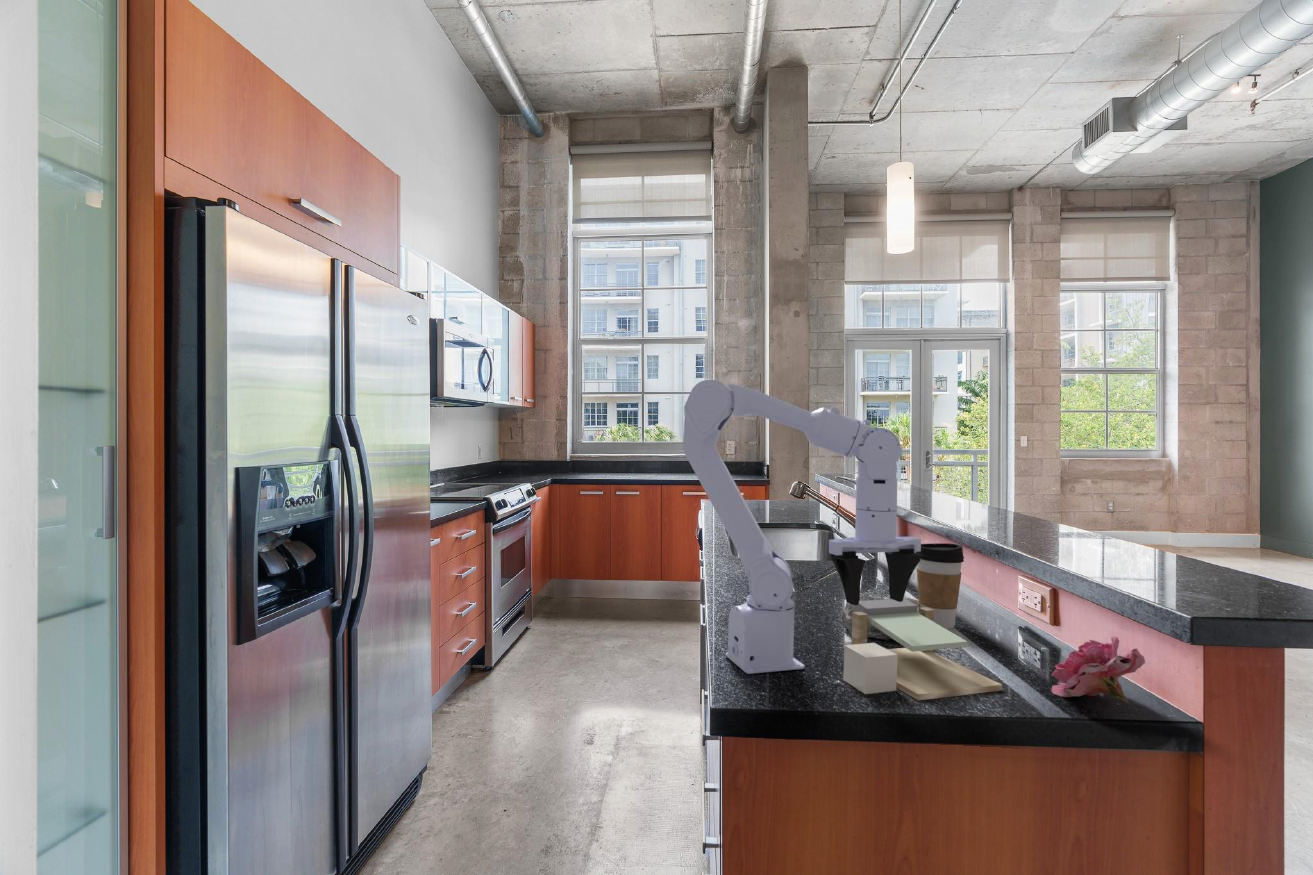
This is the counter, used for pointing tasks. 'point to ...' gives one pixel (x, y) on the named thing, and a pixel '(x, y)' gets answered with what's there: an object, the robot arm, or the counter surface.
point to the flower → (1095, 670)
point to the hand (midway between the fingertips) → (874, 601)
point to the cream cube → (870, 668)
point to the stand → (928, 668)
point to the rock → (870, 630)
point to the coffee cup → (940, 580)
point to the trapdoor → (908, 625)
